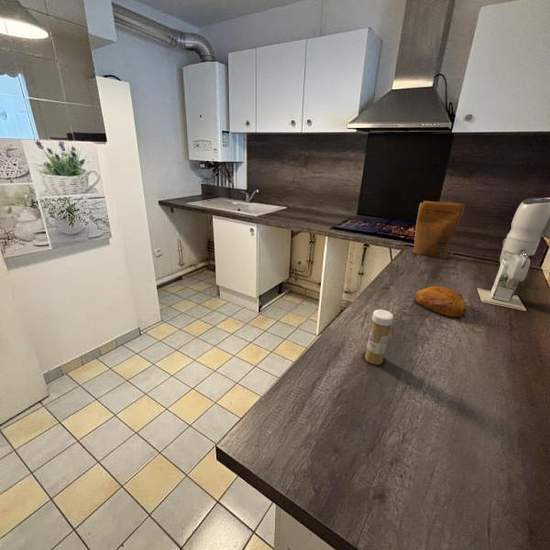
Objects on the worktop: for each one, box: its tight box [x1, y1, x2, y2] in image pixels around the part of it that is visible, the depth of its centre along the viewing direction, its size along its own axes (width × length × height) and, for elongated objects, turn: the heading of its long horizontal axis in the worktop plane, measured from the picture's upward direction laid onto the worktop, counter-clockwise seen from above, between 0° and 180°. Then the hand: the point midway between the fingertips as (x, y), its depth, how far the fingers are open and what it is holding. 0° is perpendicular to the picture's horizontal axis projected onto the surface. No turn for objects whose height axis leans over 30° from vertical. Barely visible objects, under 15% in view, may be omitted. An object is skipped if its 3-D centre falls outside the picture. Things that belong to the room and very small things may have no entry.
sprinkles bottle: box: [364, 309, 394, 366], centre depth 71 cm, size 5×5×14 cm
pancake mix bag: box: [411, 200, 466, 260], centre depth 145 cm, size 7×19×28 cm, turn 59°
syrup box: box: [491, 259, 522, 303], centre depth 104 cm, size 6×6×14 cm
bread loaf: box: [415, 285, 467, 318], centre depth 99 cm, size 14×16×8 cm
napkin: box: [476, 287, 527, 312], centre depth 107 cm, size 13×13×1 cm
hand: (505, 283), depth 105 cm, fingers closed on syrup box, 6 cm apart
